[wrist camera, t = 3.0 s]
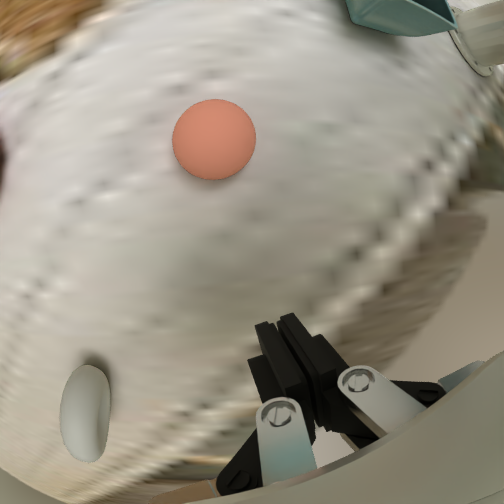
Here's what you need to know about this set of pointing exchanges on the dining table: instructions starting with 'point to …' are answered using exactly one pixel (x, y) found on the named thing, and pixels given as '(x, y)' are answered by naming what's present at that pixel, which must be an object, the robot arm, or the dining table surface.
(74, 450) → the donut
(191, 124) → the ball
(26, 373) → the dining table surface
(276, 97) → the dining table surface
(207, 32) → the dining table surface
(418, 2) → the flower pot
